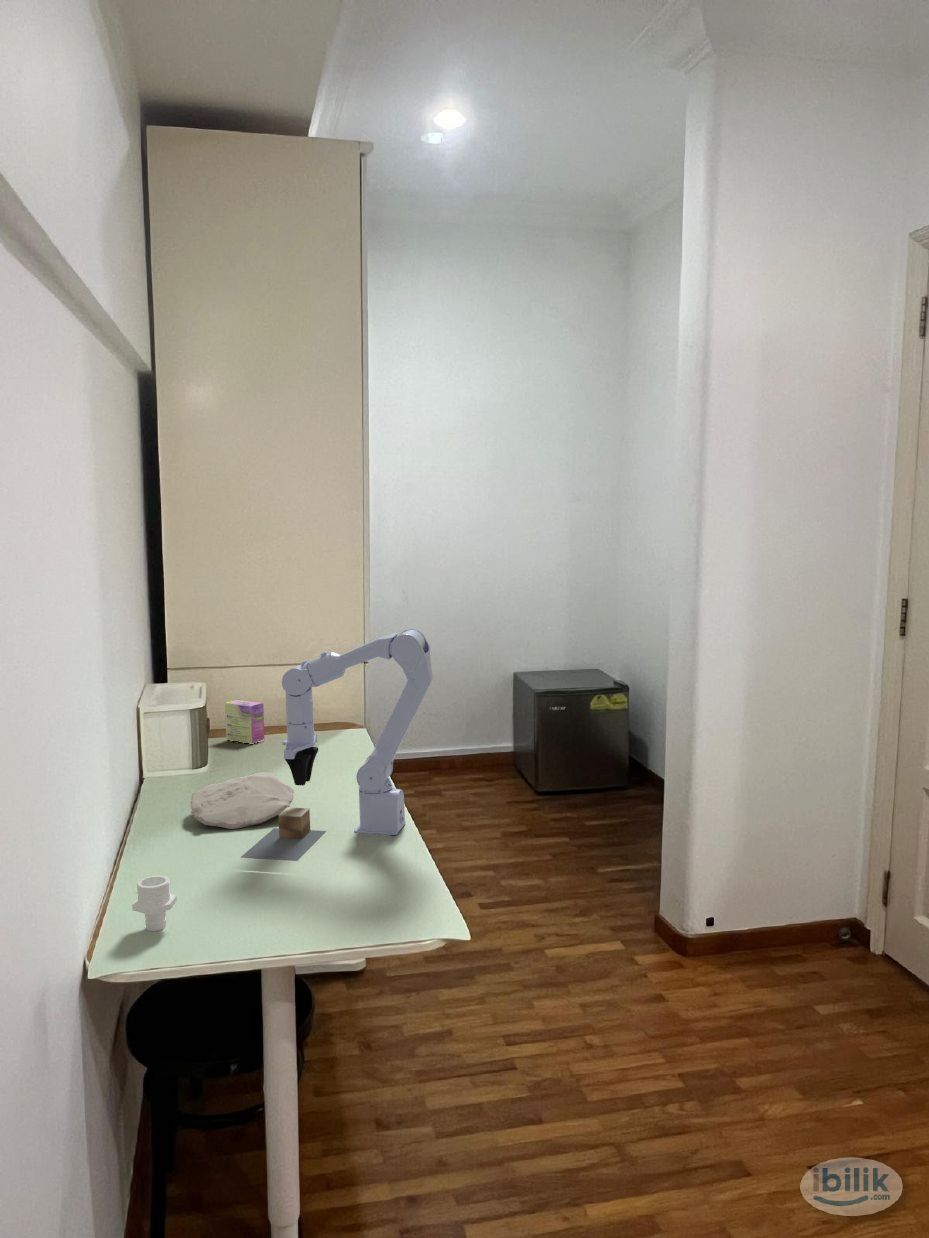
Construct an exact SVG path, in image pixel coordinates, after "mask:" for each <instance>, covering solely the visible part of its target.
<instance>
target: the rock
mask: <svg viewBox="0 0 929 1238" xmlns="http://www.w3.org/2000/svg"><path fill="white" fill-rule="evenodd" d="M294 793H295V791H294V788H292V787H291V786H289V784H285V783H284V782H283V781H282V780H280V778H278V777H277V775H274V774H273V773H272V772H265V771H263V772H262V771H261V772H260V771H259V772H255V773H253V774H250V775H245V776H240V777H239V776H238V777H235V778H230V779H226V781H224V782H219V783H212V784H211V783H210V784H207V785H206V786H204V787H202V788H200V789H198V790H195V791H194V792H193V793H192V795H191V798H190V799H191V800H190V809H191V811H190V813H191V815H192V816H193V817H194V819H195V820H197V821H198V822H200V823H201V824H203V825H204V826H210V827H218V828H222V829H223V828H224V829H229V830H235V829H236V830H237V829H243V828H247V827H250V826H255V825H260V824H263V823H265V822H267V821H270V820H271V819H273V818H275V817H276V816H277V817H278V815H279V814H280V813H281V812H282V811H284V810H285V809H286V808H287V807H290V804H292V802H293V800H294ZM290 808H291V807H290Z"/></svg>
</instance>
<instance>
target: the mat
mask: <svg viewBox="0 0 929 1238" xmlns="http://www.w3.org/2000/svg"><path fill="white" fill-rule="evenodd" d="M325 833H327V830H316V829H312V830H311V829H310V832H309V833H308V834H307V835H306V836H305V837H304V838H303V839H290V838H279V827H278V828H276V827H275V828H272V829H271V830H270V831H269V832H267V834H266V835H264V836H263V837H262V838H261V839H259V840H258V841H257V842H256V843H255V844H254V845H253V846H252V847H251V848H249V849H248V850H247V851H246V852H245V853H244V854H242V856H240V858H244V859H258V860H259V859H261V860H278V861H279V860H280V861H293V862H294V861H295V862H298V861H299V860H300V859H301V858H302V857H303V856H304V855H305V854H306V853H307V852H308V851H309V850H310V849H311V848H312V846H314V844H316V843H317V841H319V840H320V838H321V837H323V835H325Z"/></svg>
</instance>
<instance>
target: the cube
mask: <svg viewBox="0 0 929 1238" xmlns="http://www.w3.org/2000/svg"><path fill="white" fill-rule="evenodd" d="M310 811H311V810H310V808H307V807H305V808H304V807H287V808H286V809H285V810H284V811H282V812H281V813H280V814H279V815H277V817H278V828H279V838H290V839H303V838H304V837H305V836H306V835H307V834H308V833H309V832H310V830H311V815H310Z"/></svg>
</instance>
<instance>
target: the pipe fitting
mask: <svg viewBox="0 0 929 1238" xmlns="http://www.w3.org/2000/svg"><path fill="white" fill-rule="evenodd" d="M136 889H137V892H136V894H137V898H136V899H135V900H134V901H133V902H132V904H131V908H132V911H134V912H137V913H141V914H144V918H145V922H144V923H145V927H146V928H145V929H146V930H147V931H149V932H157V931H158V932H159V931H162V930H163V929H165V928H166V927H167V917H166V913H167V911H169V910H172V908H173V907H174V905H175V904H176V902H177V901H178V899H177V894H174V893H171V880H170V878H169V877H168V876H166V875H151V876H147V877H144V878H142V879H140V880H139V881H137V882H136Z"/></svg>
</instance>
